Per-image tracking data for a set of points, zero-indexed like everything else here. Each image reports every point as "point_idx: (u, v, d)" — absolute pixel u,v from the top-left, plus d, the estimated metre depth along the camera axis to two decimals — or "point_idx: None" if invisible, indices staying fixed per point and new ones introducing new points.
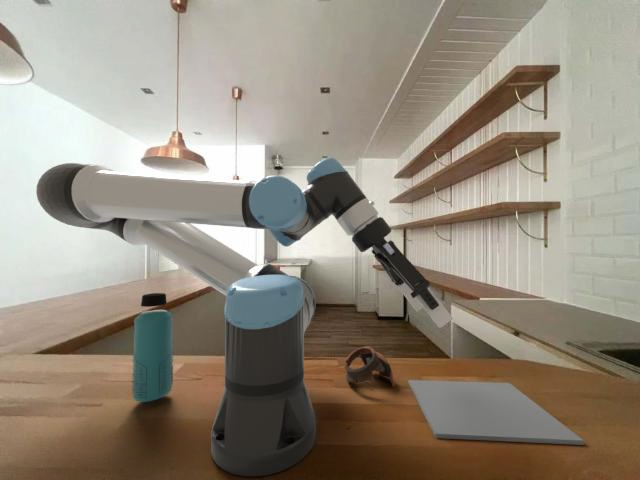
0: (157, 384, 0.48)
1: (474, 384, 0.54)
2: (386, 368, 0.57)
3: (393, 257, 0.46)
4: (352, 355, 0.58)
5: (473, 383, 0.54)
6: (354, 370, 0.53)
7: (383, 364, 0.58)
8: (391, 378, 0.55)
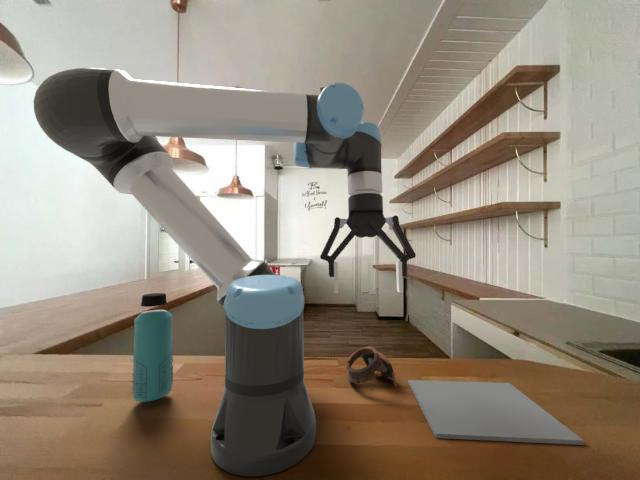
0: (157, 384, 0.48)
1: (474, 384, 0.54)
2: (388, 368, 0.57)
3: None
4: (354, 355, 0.58)
5: (473, 383, 0.54)
6: (356, 371, 0.53)
7: (385, 364, 0.58)
8: (393, 378, 0.54)
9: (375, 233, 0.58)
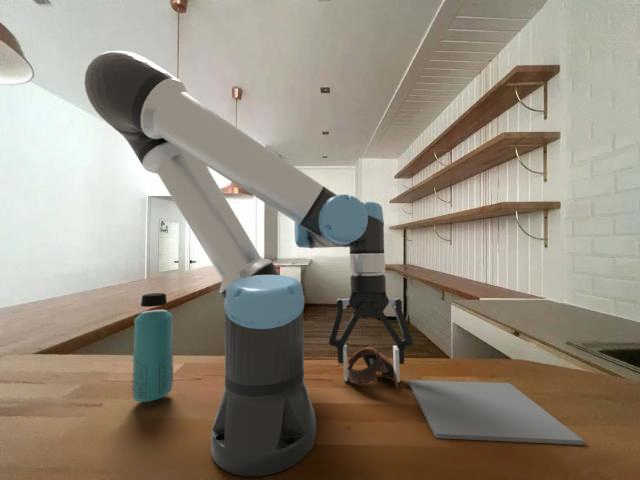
0: (157, 384, 0.48)
1: (474, 384, 0.54)
2: (389, 369, 0.57)
3: (401, 311, 0.57)
4: (355, 356, 0.58)
5: (473, 383, 0.54)
6: (357, 371, 0.53)
7: (386, 365, 0.58)
8: (394, 379, 0.54)
9: (376, 315, 0.57)
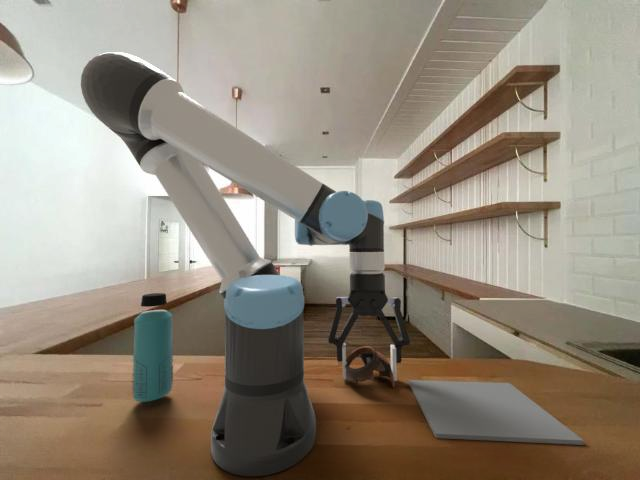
0: (157, 384, 0.48)
1: (474, 384, 0.54)
2: (386, 368, 0.57)
3: None
4: (352, 354, 0.58)
5: (473, 383, 0.54)
6: (354, 370, 0.53)
7: (383, 364, 0.58)
8: (391, 378, 0.54)
9: (375, 313, 0.57)
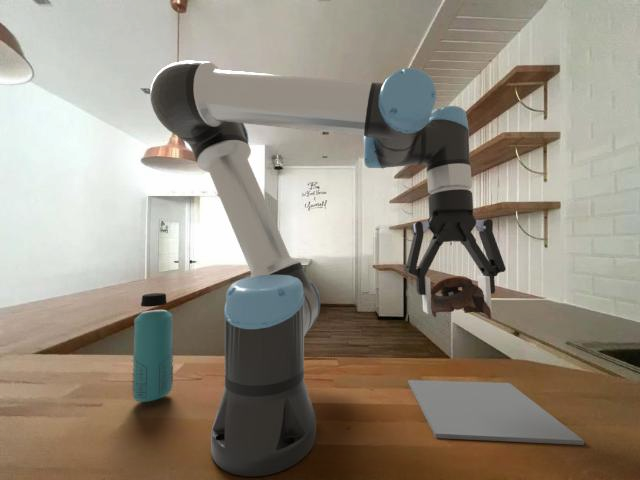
0: (157, 384, 0.48)
1: (474, 384, 0.54)
2: (477, 300, 0.49)
3: None
4: (436, 286, 0.50)
5: (473, 383, 0.54)
6: (449, 296, 0.45)
7: (472, 297, 0.50)
8: (488, 308, 0.46)
9: (462, 237, 0.49)
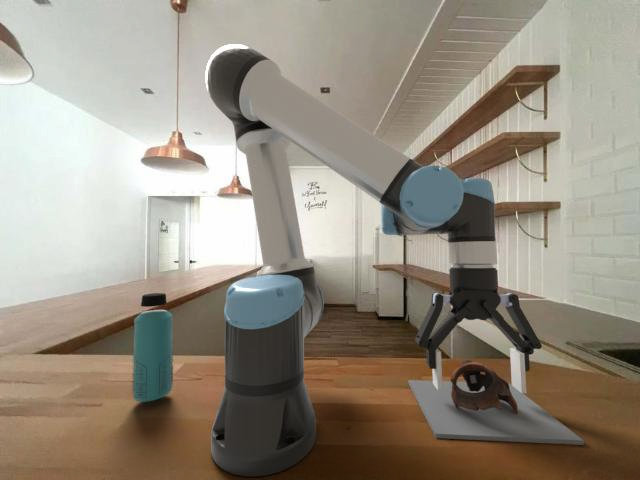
0: (157, 384, 0.48)
1: None
2: None
3: None
4: (457, 373, 0.47)
5: None
6: (473, 394, 0.42)
7: None
8: (515, 403, 0.44)
9: (488, 316, 0.47)
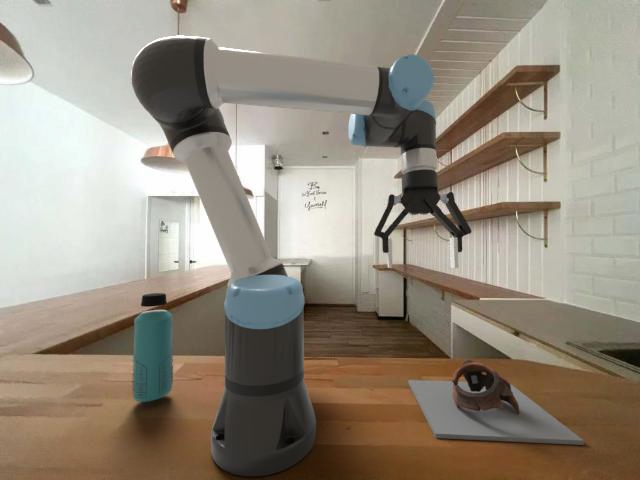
0: (157, 384, 0.48)
1: None
2: None
3: None
4: (459, 373, 0.47)
5: None
6: (475, 395, 0.42)
7: None
8: (516, 403, 0.44)
9: (430, 209, 0.59)
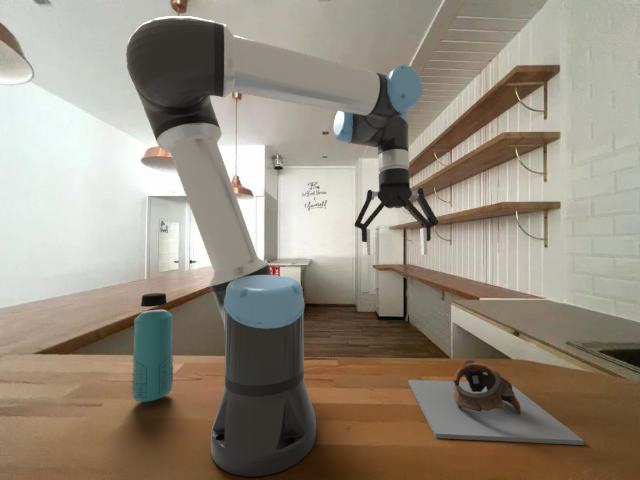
0: (157, 384, 0.48)
1: None
2: None
3: None
4: (460, 373, 0.47)
5: None
6: (476, 395, 0.42)
7: None
8: (518, 403, 0.44)
9: (403, 203, 0.67)
